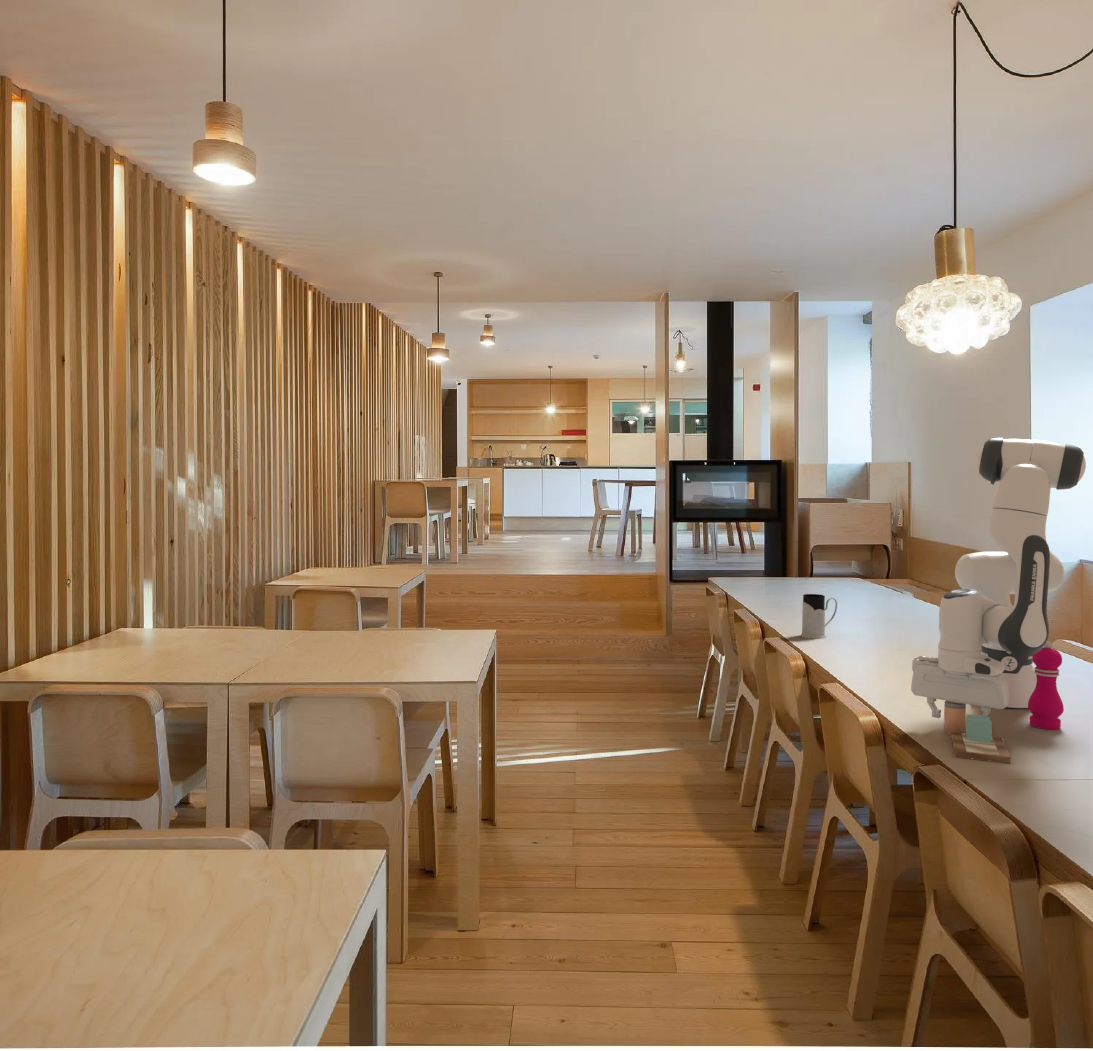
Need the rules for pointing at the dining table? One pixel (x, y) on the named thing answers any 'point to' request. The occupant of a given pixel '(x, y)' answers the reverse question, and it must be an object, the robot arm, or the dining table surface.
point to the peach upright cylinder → (954, 717)
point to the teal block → (978, 728)
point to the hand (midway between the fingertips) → (957, 721)
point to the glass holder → (814, 616)
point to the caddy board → (980, 748)
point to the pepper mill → (1046, 689)
